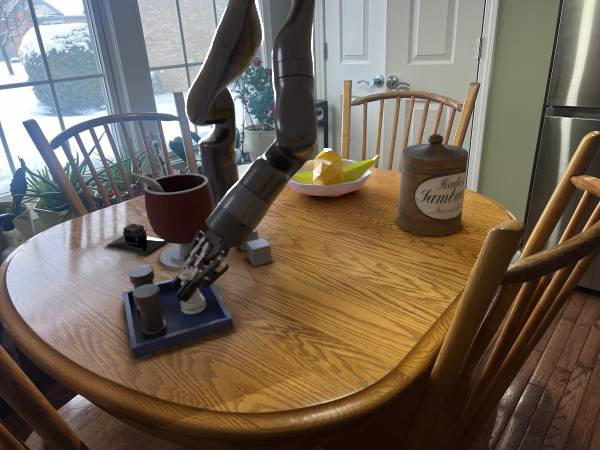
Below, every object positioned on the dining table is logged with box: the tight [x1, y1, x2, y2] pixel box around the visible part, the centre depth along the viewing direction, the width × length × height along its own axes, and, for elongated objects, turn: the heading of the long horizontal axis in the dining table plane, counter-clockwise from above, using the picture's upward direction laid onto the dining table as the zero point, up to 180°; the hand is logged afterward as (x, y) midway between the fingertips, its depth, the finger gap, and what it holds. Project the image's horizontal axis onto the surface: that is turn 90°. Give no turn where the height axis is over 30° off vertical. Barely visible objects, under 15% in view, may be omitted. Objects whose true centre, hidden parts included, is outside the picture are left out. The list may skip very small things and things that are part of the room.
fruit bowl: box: [287, 148, 381, 198], centre depth 130 cm, size 28×27×11 cm
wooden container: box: [397, 133, 469, 237], centre depth 103 cm, size 15×15×22 cm
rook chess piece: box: [177, 266, 206, 315], centre depth 76 cm, size 4×4×8 cm
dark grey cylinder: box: [133, 283, 168, 340], centre depth 70 cm, size 4×4×8 cm
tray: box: [121, 271, 234, 360], centre depth 76 cm, size 18×16×3 cm
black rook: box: [128, 264, 161, 315], centre depth 76 cm, size 4×4×8 cm
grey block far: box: [239, 228, 259, 252], centre depth 100 cm, size 4×4×4 cm
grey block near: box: [246, 237, 273, 267], centre depth 93 cm, size 4×4×4 cm
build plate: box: [106, 223, 167, 256], centre depth 103 cm, size 12×7×5 cm, turn 65°
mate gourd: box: [130, 172, 214, 268], centre depth 93 cm, size 16×14×20 cm
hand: (178, 293), depth 75 cm, fingers open, 3 cm apart
